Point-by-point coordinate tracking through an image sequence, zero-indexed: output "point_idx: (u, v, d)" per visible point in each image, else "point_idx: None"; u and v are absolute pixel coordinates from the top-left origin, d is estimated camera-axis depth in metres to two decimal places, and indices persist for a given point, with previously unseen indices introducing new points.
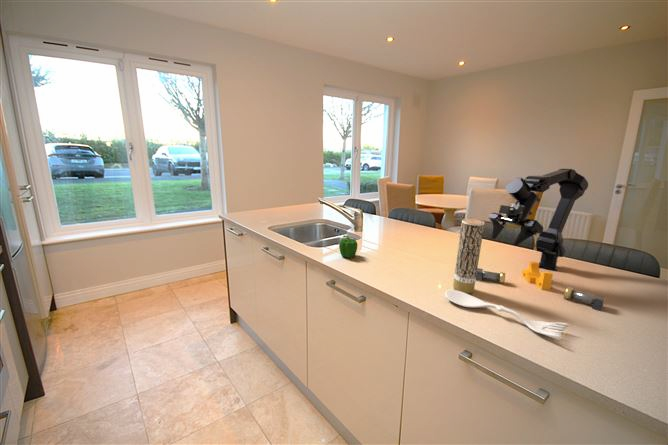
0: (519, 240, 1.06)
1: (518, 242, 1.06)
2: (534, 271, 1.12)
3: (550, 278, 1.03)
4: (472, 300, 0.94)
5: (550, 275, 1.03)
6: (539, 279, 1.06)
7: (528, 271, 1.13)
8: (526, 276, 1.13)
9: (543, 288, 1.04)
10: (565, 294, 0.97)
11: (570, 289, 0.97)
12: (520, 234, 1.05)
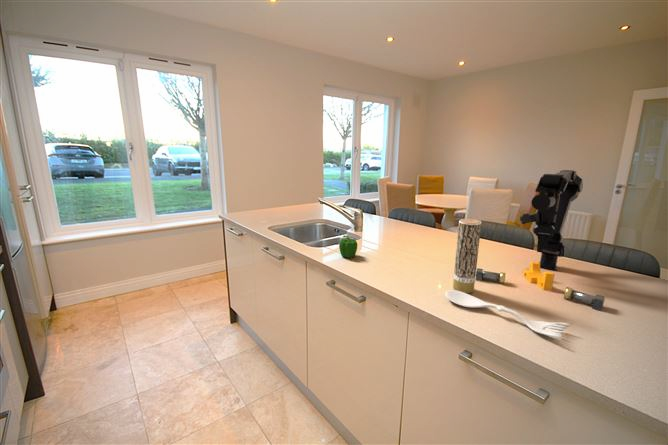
0: (540, 244, 1.10)
1: (541, 246, 1.10)
2: (535, 271, 1.12)
3: (552, 278, 1.03)
4: (472, 300, 0.94)
5: (552, 275, 1.03)
6: (541, 279, 1.06)
7: (530, 271, 1.13)
8: (527, 276, 1.13)
9: (545, 288, 1.04)
10: (565, 294, 0.97)
11: (570, 289, 0.97)
12: None
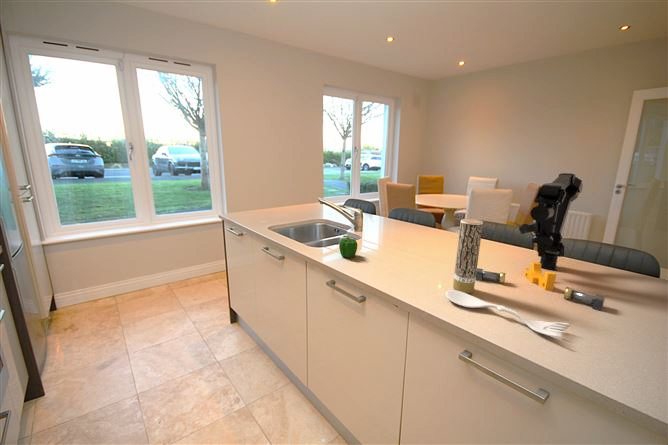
0: (540, 251, 1.14)
1: (540, 253, 1.15)
2: (536, 271, 1.12)
3: (554, 278, 1.03)
4: (472, 300, 0.94)
5: (554, 275, 1.03)
6: (543, 280, 1.06)
7: (531, 271, 1.13)
8: (529, 276, 1.12)
9: (547, 288, 1.04)
10: (565, 294, 0.97)
11: (570, 289, 0.97)
12: (537, 246, 1.15)
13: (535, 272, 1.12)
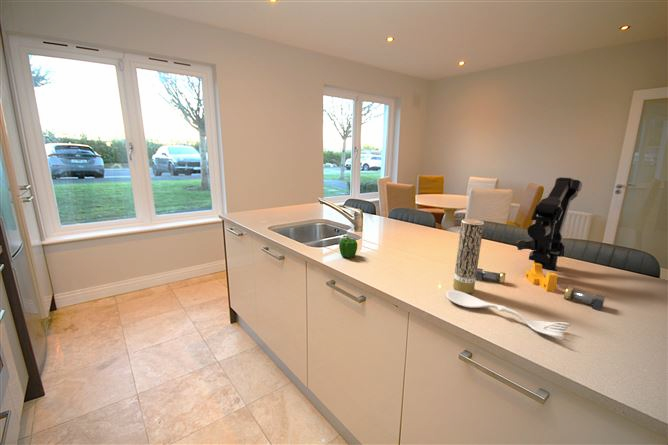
0: None
1: None
2: (537, 272, 1.11)
3: (555, 279, 1.02)
4: (472, 301, 0.94)
5: (555, 276, 1.02)
6: (544, 281, 1.05)
7: (532, 272, 1.12)
8: (530, 277, 1.12)
9: (548, 290, 1.03)
10: (565, 294, 0.97)
11: (570, 289, 0.97)
12: (534, 262, 1.16)
13: (536, 273, 1.11)
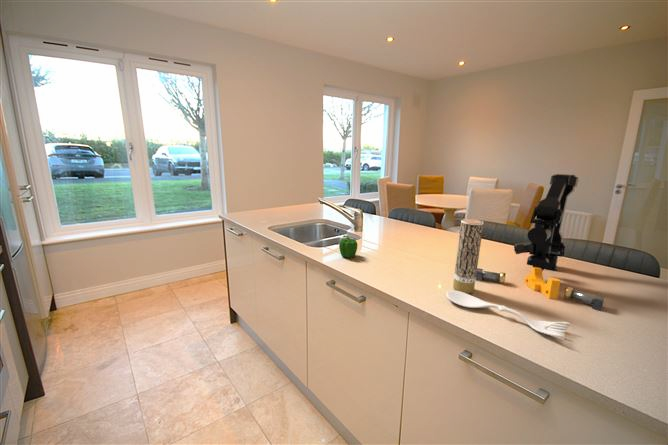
0: None
1: None
2: (538, 277, 1.06)
3: (558, 285, 0.97)
4: (473, 301, 0.94)
5: (558, 282, 0.97)
6: (546, 287, 1.00)
7: (532, 277, 1.07)
8: (530, 283, 1.06)
9: (551, 296, 0.98)
10: (565, 294, 0.97)
11: (570, 289, 0.97)
12: None
13: (536, 278, 1.06)
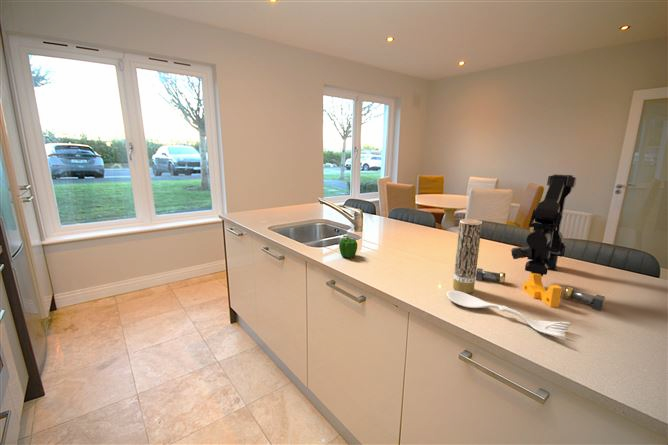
0: None
1: None
2: (537, 283, 1.01)
3: (559, 292, 0.91)
4: (473, 301, 0.94)
5: (559, 289, 0.91)
6: (546, 294, 0.94)
7: (531, 284, 1.02)
8: (529, 290, 1.01)
9: (552, 304, 0.92)
10: (565, 294, 0.97)
11: (570, 289, 0.97)
12: None
13: (535, 285, 1.00)
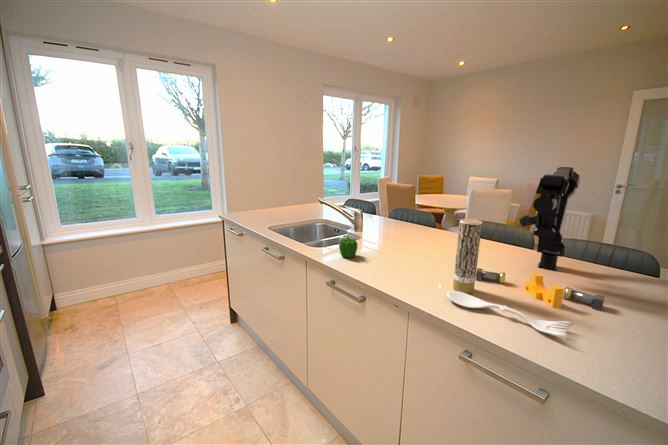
0: (541, 245, 1.10)
1: (542, 247, 1.10)
2: (538, 284, 1.00)
3: (561, 294, 0.91)
4: (474, 301, 0.94)
5: (561, 291, 0.91)
6: (548, 295, 0.94)
7: (532, 284, 1.01)
8: (530, 291, 1.01)
9: (554, 305, 0.92)
10: (565, 294, 0.97)
11: (570, 289, 0.97)
12: None
13: (537, 286, 1.00)
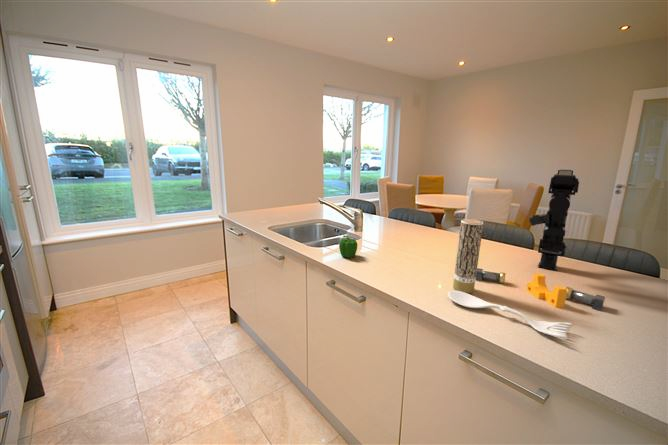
0: (551, 244, 1.11)
1: (552, 246, 1.11)
2: (541, 284, 1.00)
3: (565, 294, 0.91)
4: (475, 301, 0.94)
5: (565, 291, 0.91)
6: (551, 295, 0.94)
7: (534, 285, 1.01)
8: (533, 291, 1.00)
9: (557, 305, 0.92)
10: None
11: (570, 289, 0.97)
12: (548, 238, 1.11)
13: (539, 286, 1.00)
